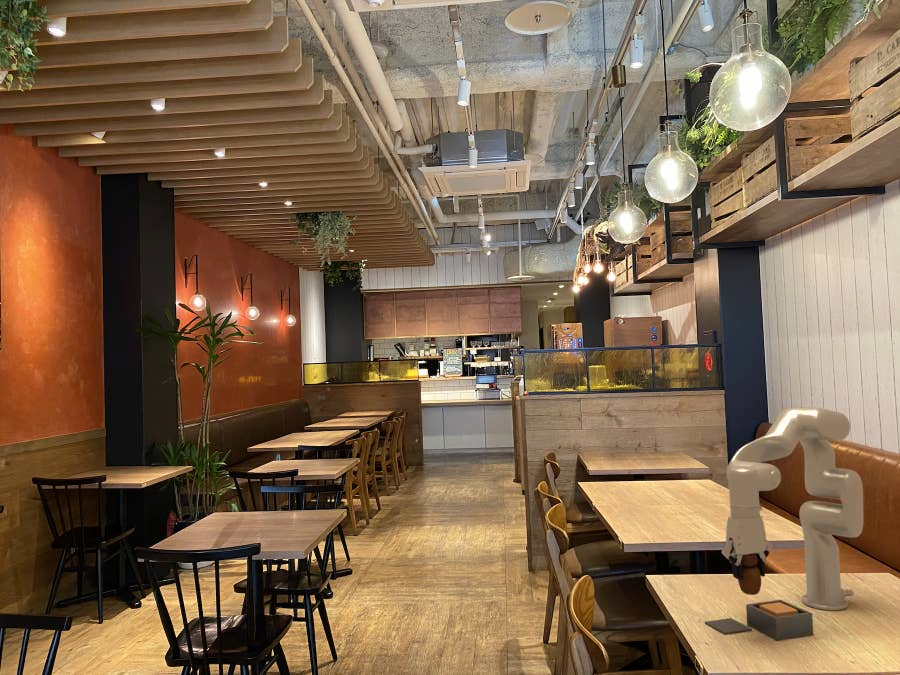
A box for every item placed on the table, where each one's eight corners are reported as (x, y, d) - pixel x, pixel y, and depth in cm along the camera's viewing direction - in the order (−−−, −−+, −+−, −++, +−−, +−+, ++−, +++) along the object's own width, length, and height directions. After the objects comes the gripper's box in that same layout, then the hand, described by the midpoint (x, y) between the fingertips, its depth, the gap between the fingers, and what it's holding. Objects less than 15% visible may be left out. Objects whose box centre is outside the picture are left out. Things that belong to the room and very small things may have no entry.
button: (780, 607, 199) (779, 602, 199) (798, 616, 192) (797, 610, 192) (759, 610, 197) (759, 605, 197) (777, 619, 190) (776, 613, 191)
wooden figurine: (764, 597, 186) (760, 541, 186) (741, 596, 187) (738, 541, 187) (758, 588, 192) (755, 534, 193) (736, 588, 193) (733, 534, 194)
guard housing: (781, 620, 202) (780, 599, 202) (813, 635, 190) (812, 613, 191) (747, 625, 199) (746, 604, 199) (776, 640, 187) (775, 618, 187)
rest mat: (731, 620, 203) (731, 618, 203) (752, 631, 195) (752, 628, 195) (704, 623, 201) (704, 621, 201) (724, 635, 192) (724, 632, 192)
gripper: (761, 505, 196) (765, 569, 196) (709, 512, 192) (713, 577, 191) (781, 511, 189) (785, 576, 188) (727, 518, 184) (731, 585, 184)
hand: (749, 576), depth 190 cm, fingers closed on wooden figurine, 6 cm apart
